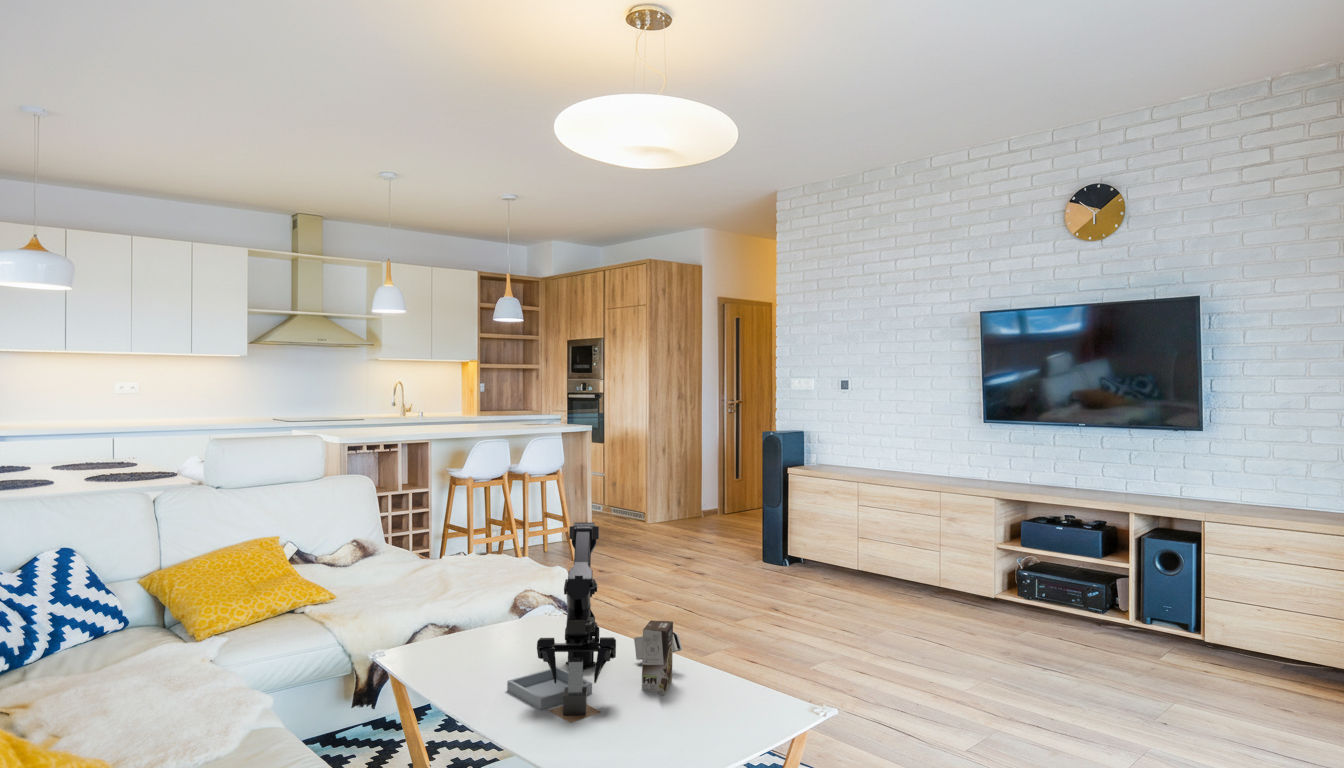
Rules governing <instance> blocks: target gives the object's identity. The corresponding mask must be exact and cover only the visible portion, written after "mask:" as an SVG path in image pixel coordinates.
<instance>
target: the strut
mask: <svg viewBox="0 0 1344 768" xmlns="http://www.w3.org/2000/svg"><path fill="white" fill-rule="evenodd" d="M583 670H584V669H583V657H569V666H568V670H567V672H568V687H565V690H564V695H563V703H562V706H563V716H586V707H587V705H588V702H587V701H588V700H587V699H588V695H587V687H583V679H584V673H583V672H584V671H583Z"/></svg>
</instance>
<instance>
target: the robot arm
mask: <svg viewBox="0 0 1344 768" xmlns="http://www.w3.org/2000/svg"><path fill="white" fill-rule="evenodd" d="M573 523H574V524H573V525H572V526H571V525H570V526H569V527H568V528H569V534H568V535H569V536H568V540H571V545H572V547H573V549H574V555H573V557H574V558H573V566H572V567H571V568H569V570H568V575H567V579H565V581H564V586H563V595H566V604H567V615H566V626H565V630H564V640H565V641H564V642H565V643H563V642H562V643H560V642H558V643H556V642H555V637H540V638H539V639H537V643H536V651H537V652H536V653H537V658H538V659H540V660H543V662H544V663H547V664H548V666H549V669H551V672H552V676H553V679H554V683H555V684H556V681H557V675H556V667H557V663H556V653H567V661H565V665H567V666H568V667H569V657H583V670H585V669H588V668H591V667H594V666H595V669H594V673H593V674H594V675H593V678H594V680H593V683H594V684H596V683H597V681H598V679H599V676H600V674H601V672H602V669H603V668H604V666H605V665H606V663H607V662H611V659H615V658H617V656H616V655H617V652H616V651H617V639H616V638H615V637H612V636H610V637H609V636H608V637H600V627H599V625H598V622H596V617H595V614H594V613H593V611H592V608H591V606H592V603H591V598H592V597H593V595H595V594H596V593H598V583H597V581H596V579H593V578H594V577H593V572H594V571H593V569H592V568H591V560H592V558H591V556H592V553H593V552H594V550H595V548H596V546H597V541H598V540H599V538H600V526H599V525H598V526H597V525H596V522H573ZM595 652H597V655H596V656H597V657H596V661H595V660H594V659H595V654H594V653H595Z"/></svg>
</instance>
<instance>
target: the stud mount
mask: <svg viewBox="0 0 1344 768" xmlns="http://www.w3.org/2000/svg"><path fill="white" fill-rule="evenodd" d="M547 711H548V712H550V713H552V714H554V715H555V716H558V717H559V718H561V719H562V720H565V721H567V723H568V722H569V723H571V724H573V723H575V722H577V721H580V720H583V719H585V718H589V717H591V716H594V715H598V714H600V713H602V711H601V710H599V709H597V708H595V707H593V706H591V705H589V704H587V707H586V716H563V705H560V706H557V707H555V708H551V709H548V710H547Z"/></svg>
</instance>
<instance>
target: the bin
mask: <svg viewBox="0 0 1344 768" xmlns="http://www.w3.org/2000/svg"><path fill="white" fill-rule="evenodd" d="M556 675H557V681H556V684H555V683H554V679H553V676H552V672H551V669H550V668H549V669H545V670H541V671H537V672H534V673H529V674H527V675H523V676H520V677H515V678H513V679H509V680H507V684H506V685H507V686H506V690H507V692H508V693H510V694H512V695H514V696H516V697H517V698H519V699H520V700H523V701H524V702H526V703H529V704H530V705H532V706H534V707H535V708H537V709H538V710H544V709H547V708H551V707H554V706H558V705H560V704H563V695H564V690H565V687H568V670H565V669H563V668H561V667H559V666H556ZM583 687H587V696H589V695H592V694H593V692H592V691H593V683H592V682H591V681H589V680H586V679H584V678H583Z"/></svg>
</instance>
